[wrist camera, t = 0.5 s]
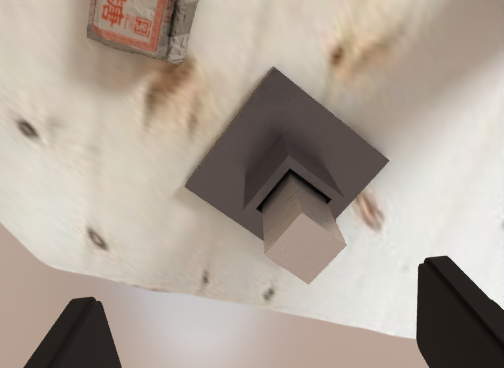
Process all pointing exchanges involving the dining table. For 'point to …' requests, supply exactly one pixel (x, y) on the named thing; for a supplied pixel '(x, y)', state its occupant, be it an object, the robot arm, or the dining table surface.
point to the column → (299, 227)
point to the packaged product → (143, 26)
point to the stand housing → (283, 154)
